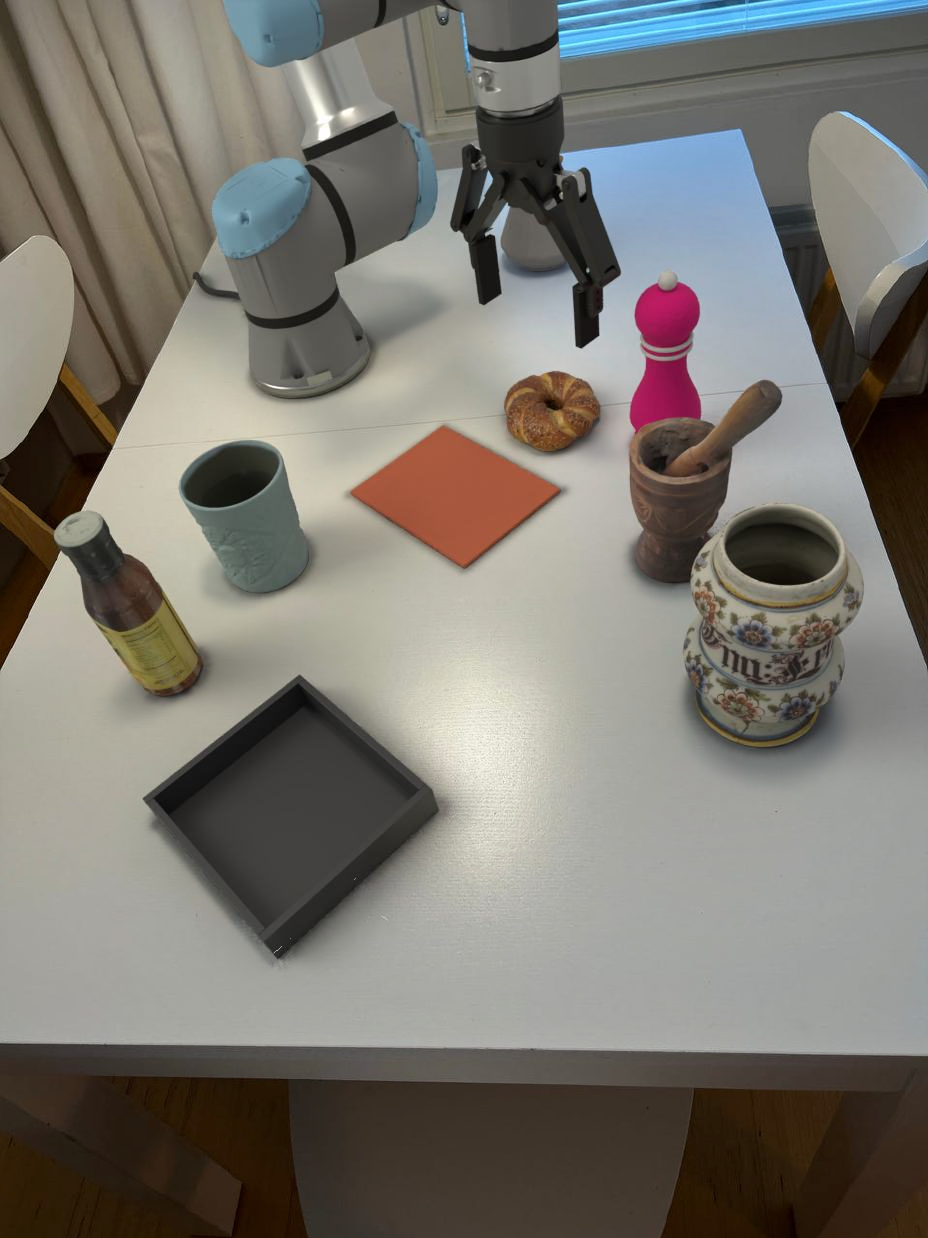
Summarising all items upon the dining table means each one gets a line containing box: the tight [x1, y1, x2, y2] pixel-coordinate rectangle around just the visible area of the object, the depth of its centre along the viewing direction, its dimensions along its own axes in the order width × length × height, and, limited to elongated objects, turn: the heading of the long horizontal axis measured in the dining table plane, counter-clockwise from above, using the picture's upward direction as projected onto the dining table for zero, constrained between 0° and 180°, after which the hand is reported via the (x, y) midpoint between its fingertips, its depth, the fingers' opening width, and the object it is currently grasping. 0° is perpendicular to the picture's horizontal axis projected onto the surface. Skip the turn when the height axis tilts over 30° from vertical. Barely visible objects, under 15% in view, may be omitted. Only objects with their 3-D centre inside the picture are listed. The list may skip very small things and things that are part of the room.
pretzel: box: [503, 370, 602, 452], centre depth 104 cm, size 12×11×4 cm
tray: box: [142, 674, 440, 960], centre depth 76 cm, size 17×16×3 cm
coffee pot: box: [499, 154, 567, 272], centre depth 126 cm, size 21×12×15 cm, turn 8°
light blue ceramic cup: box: [178, 439, 310, 594], centre depth 93 cm, size 10×10×12 cm
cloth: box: [349, 425, 561, 569], centre depth 100 cm, size 18×14×1 cm
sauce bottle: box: [53, 510, 203, 697], centre depth 81 cm, size 7×6×20 cm
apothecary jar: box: [682, 502, 865, 748], centre depth 71 cm, size 12×12×18 cm
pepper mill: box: [629, 269, 702, 435], centre depth 92 cm, size 7×7×20 cm
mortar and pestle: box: [628, 379, 783, 583], centre depth 82 cm, size 12×9×20 cm
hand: (537, 319), depth 96 cm, fingers open, 13 cm apart
